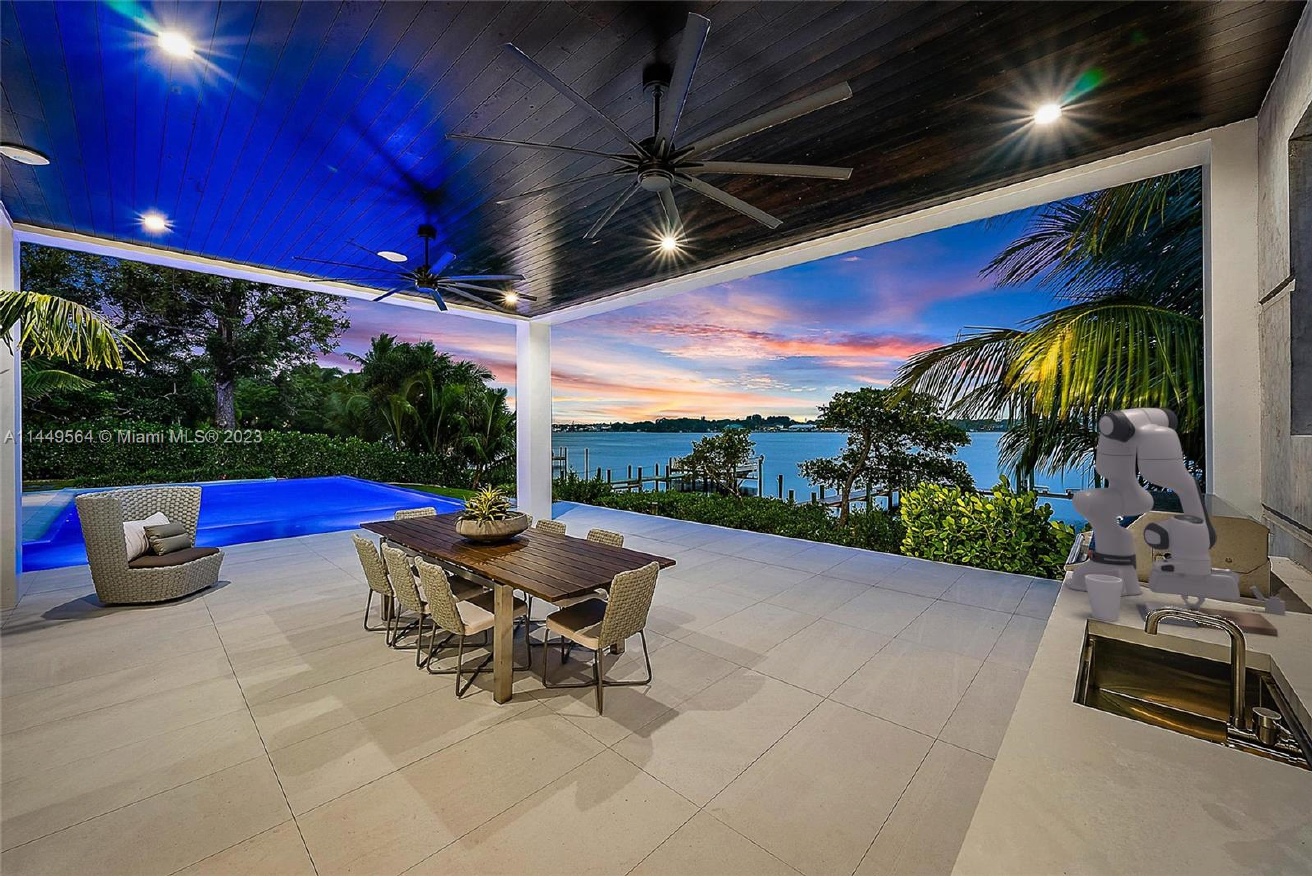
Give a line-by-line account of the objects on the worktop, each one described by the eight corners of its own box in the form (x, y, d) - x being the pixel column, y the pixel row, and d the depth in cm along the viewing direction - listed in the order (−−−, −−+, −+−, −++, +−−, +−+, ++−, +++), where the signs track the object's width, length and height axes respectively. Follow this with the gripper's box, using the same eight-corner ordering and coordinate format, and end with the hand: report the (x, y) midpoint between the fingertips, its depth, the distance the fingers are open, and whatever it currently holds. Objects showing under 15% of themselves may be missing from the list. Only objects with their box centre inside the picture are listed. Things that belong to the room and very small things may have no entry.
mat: (1144, 621, 166) (1144, 620, 166) (1136, 605, 180) (1136, 604, 180) (1198, 628, 158) (1198, 626, 158) (1185, 610, 173) (1185, 609, 173)
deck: (1198, 626, 159) (1198, 620, 159) (1188, 612, 171) (1187, 606, 171) (1277, 636, 150) (1277, 629, 150) (1260, 620, 162) (1260, 614, 162)
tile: (1148, 616, 169) (1148, 608, 169) (1145, 609, 174) (1144, 602, 174) (1192, 621, 163) (1191, 613, 163) (1187, 614, 168) (1186, 606, 169)
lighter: (1285, 614, 165) (1284, 589, 166) (1285, 615, 164) (1283, 590, 164) (1251, 609, 171) (1250, 585, 171) (1251, 610, 170) (1249, 586, 170)
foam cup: (1113, 624, 165) (1111, 583, 165) (1080, 616, 173) (1078, 577, 173) (1131, 619, 168) (1128, 579, 168) (1097, 611, 177) (1095, 573, 177)
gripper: (1235, 567, 162) (1238, 611, 162) (1146, 561, 174) (1148, 602, 174) (1242, 572, 157) (1244, 618, 157) (1149, 565, 169) (1151, 607, 169)
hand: (1193, 609), depth 165 cm, fingers closed
